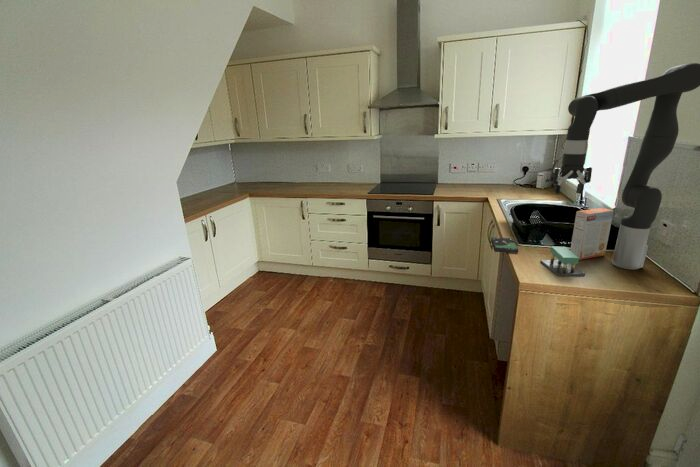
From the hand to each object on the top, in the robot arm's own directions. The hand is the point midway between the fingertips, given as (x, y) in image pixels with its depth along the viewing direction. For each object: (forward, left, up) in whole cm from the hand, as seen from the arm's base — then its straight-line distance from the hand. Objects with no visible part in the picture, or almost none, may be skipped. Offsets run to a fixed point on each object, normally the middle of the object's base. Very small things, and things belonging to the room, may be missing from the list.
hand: (567, 193), depth 135 cm
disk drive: (+14, -20, -31) cm, 39 cm away
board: (+1, +6, -25) cm, 26 cm away
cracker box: (-17, -7, -30) cm, 35 cm away
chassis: (+1, +6, -30) cm, 31 cm away
